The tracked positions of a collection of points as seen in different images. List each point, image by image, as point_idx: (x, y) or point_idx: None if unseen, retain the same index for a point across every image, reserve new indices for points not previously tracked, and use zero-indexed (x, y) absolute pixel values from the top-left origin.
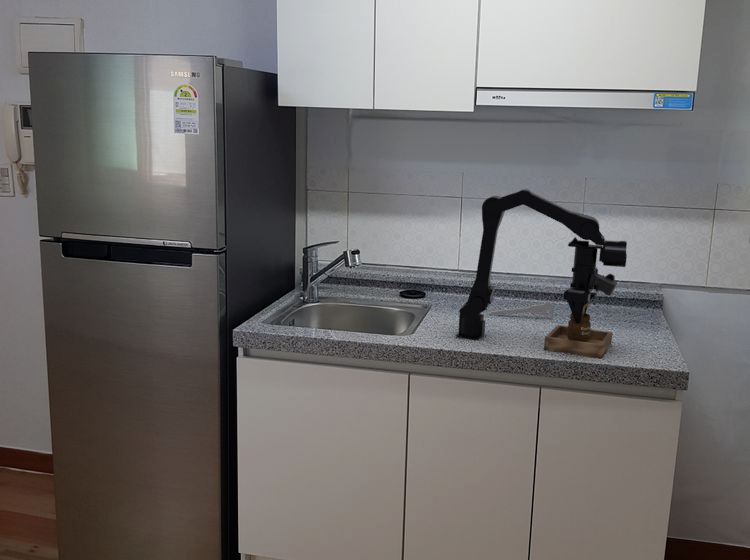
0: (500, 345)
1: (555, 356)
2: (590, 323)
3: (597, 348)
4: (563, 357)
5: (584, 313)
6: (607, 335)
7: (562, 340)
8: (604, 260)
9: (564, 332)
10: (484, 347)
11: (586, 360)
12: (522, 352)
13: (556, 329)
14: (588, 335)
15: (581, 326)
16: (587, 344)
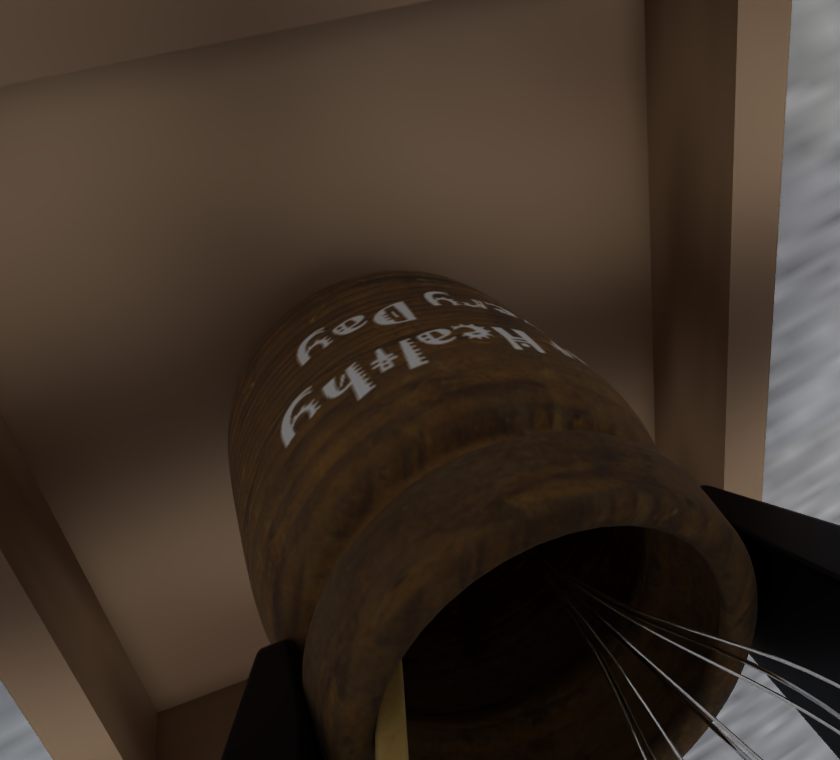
0: (718, 745)
1: (802, 348)
2: (417, 396)
3: None
4: (800, 280)
5: (374, 724)
6: (27, 44)
7: (761, 435)
8: None
9: (135, 706)
10: (806, 755)
11: (800, 40)
12: None
13: None
14: (442, 288)
15: (644, 427)
16: (774, 120)
